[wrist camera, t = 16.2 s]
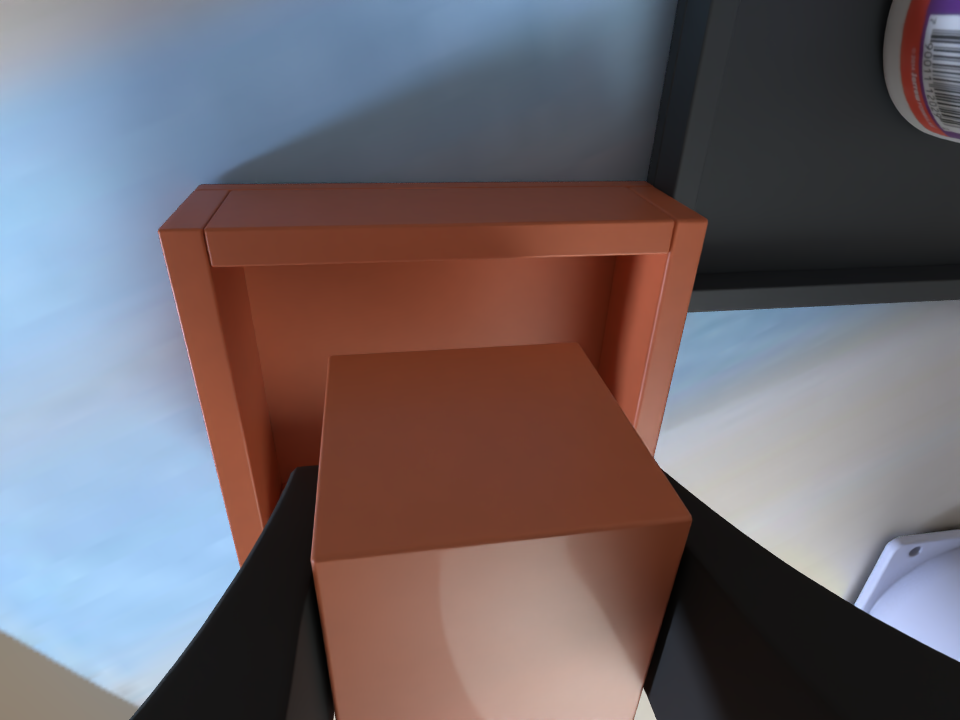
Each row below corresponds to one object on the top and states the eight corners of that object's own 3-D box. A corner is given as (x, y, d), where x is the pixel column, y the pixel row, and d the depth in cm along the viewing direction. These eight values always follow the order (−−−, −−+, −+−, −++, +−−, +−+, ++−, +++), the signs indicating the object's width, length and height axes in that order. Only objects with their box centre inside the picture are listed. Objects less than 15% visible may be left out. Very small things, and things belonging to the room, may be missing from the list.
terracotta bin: (646, 180, 14) (710, 218, 11) (597, 461, 18) (636, 535, 16) (198, 183, 12) (155, 229, 10) (260, 491, 16) (242, 579, 14)
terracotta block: (578, 340, 11) (696, 518, 7) (554, 518, 13) (633, 725, 9) (328, 354, 10) (309, 560, 6) (348, 540, 12) (342, 774, 9)
